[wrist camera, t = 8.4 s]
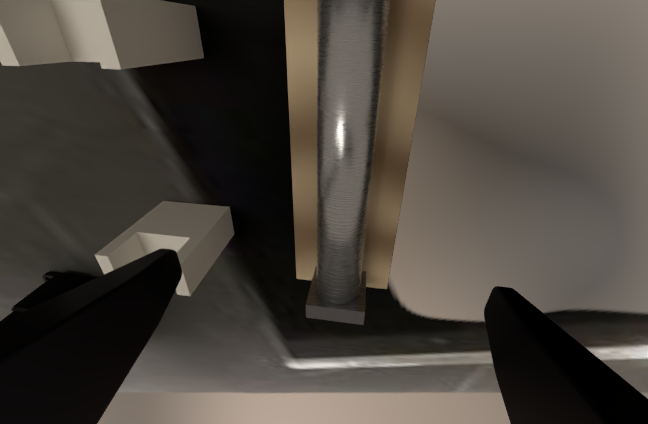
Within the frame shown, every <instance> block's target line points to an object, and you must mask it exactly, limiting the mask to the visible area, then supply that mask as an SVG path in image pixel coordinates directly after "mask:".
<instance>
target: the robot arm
mask: <svg viewBox="0 0 648 424" xmlns="http://www.w3.org/2000/svg"><path fill="white" fill-rule="evenodd" d="M181 277H182V268H181V265H180V261H179V258H178V255H177V252H176V251H175V250H172V249H164V248H163V249H158V250H156V251H154V252H152V253H150V254H147V255H145V256H143V257H141V258H139V259H137V260H134V261H132V262H130V263H128V264H126V265H124V266H121V267H119V268H117V269H115V270H113V271H111V272H109V273H106V274H104V275H102V276H100V277H98V278H92V277H84V276H76V275H68V274H60V273H52V272H47V273H46V274H45V275H43V279H44V280H45V283H44V284H42V285H41V286H40V287H38V288H37V289H36V290H34V291H33V292H32V293H30V294H29V295H28V296H26V297H25V298H24V299H22V300H21V301H20V302H18V303H17V304H16V305H14V306H13V308H12V311H13V312H12V313H11V314H9V315H8V316H7V317H5V318H4V319H3V320H2V321H0V424H97V423H98V421H99V420H100V418H101V417H102V415H103V413H104V412H105V410H106V409H107V407H108V405H109V404H110V402H111V400H112V399H113V397H114V396H115V394H116V392H117V391H118V389H119V387H120V386H121V384H122V383H123V381H124V379H125V378H126V376H127V375H128V373H129V371H130V370H131V368H132V366H133V365H134V363H135V362H136V360H137V358H138V357H139V355H140V354H141V352H142V350H143V349H144V347H145V345H146V344H147V342H148V341H149V339H150V337H151V336H152V334H153V332H154V331H155V329H156V327H157V326H158V324H159V322H160V320H161V318H162V316H163V314H164V312H165V310H166V308H167V306H168V304H169V302H170V300H171V298H172V296H173V294H174V292H175V290H176V288H177V286H178V284H179V282H180V280H181ZM484 317H485V322H486V328H487V333H488V338H489V343H490V349H491V354H492V359H493V364H494V369H495V373H496V377H497V380H498V384H499V387H500V390H501V394H502V397H503V400H504V403H505V407H506V410H507V413H508V416H509V420H510V423H511V424H648V399H647V398H646V397H645V396H643V395H642V394H641V393H640V392H639V391H637V390H636V389H635V388H634V387H633V386H631V385H630V384H629V383H628V382H627V381H625V380H624V379H623V378H622V377H620V376H619V375H618V374H617V373H616V372H614V371H613V370H612V369H611V368H609V367H608V366H607V365H606V364H605V363H603V362H602V361H601V360H600V359H598V358H597V357H596V356H595V355H594V354H592V353H591V352H590V351H589V350H587V349H586V348H585V347H584V346H583V345H581V344H580V343H579V342H578V341H576V340H575V339H574V338H573V337H572V336H570V335H569V334H568V333H567V332H565V331H564V330H563V329H562V328H561V327H559V326H558V325H557V324H556V323H554V322H553V321H552V320H551V319H550V318H548V317H547V316H546V315H545V314H543V313H542V312H541V311H540V310H539V309H537V308H536V307H535V306H534V305H532V304H531V303H530V302H529V301H528V300H526V299H525V298H524V297H523V296H521V295H520V294H519V293H518V292H517V291H515V290H514V289H512V288H507V287H498V286H497V287H494V288H493V290H492V292H491V294H490V296H489V299H488V302H487V304H486V306H485V309H484Z"/></svg>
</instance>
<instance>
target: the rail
mask: <svg viewBox="0 0 648 424" xmlns="http://www.w3.org/2000/svg"><path fill="white" fill-rule="evenodd" d="M389 9H390V0H317V266H316V267H315V271H314V275H313V279H312V283H311V287H310V291H309V294H308V298H307V302H306V317H307V318H314V319H322V320H330V321H337V322H345V323H352V324H360V325H363V324H364V316H365V298H366V271H362V265H363V256H364V246H365V237H366V227H367V218H368V208H369V199H370V189H371V180H372V171H373V161H374V152H375V142H376V133H377V123H378V114H379V104H380V95H381V85H382V76H383V66H384V57H385V47H386V38H387V28H388V19H389Z"/></svg>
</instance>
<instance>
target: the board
mask: <svg viewBox="0 0 648 424" xmlns="http://www.w3.org/2000/svg"><path fill="white" fill-rule="evenodd" d="M435 1H436V0H390V9H389V19H388V28H387V38H386V47H385V57H384V66H383V76H382V85H381V95H380V104H379V114H378V123H377V133H376V142H375V152H374V161H373V171H372V180H371V189H370V199H369V208H368V218H367V227H366V237H365V246H364V256H363V265H362V271H366V287H372V288H381V289H387V285H388V279H389V274H390V267H391V262H392V256H393V250H394V244H395V238H396V232H397V225H398V220H399V214H400V208H401V202H402V196H403V190H404V184H405V179H406V172H407V167H408V161H409V155H410V149H411V143H412V137H413V131H414V125H415V118H416V113H417V107H418V102H419V96H420V89H421V84H422V78H423V72H424V66H425V60H426V54H427V48H428V42H429V36H430V30H431V24H432V19H433V12H434V6H435ZM284 9H285V32H286V54H287V76H288V98H289V121H290V143H291V165H292V187H293V209H294V232H295V254H296V276H297V279H304V280H312V279H313V275H314V271H315V267H316V266H317V0H284Z"/></svg>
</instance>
